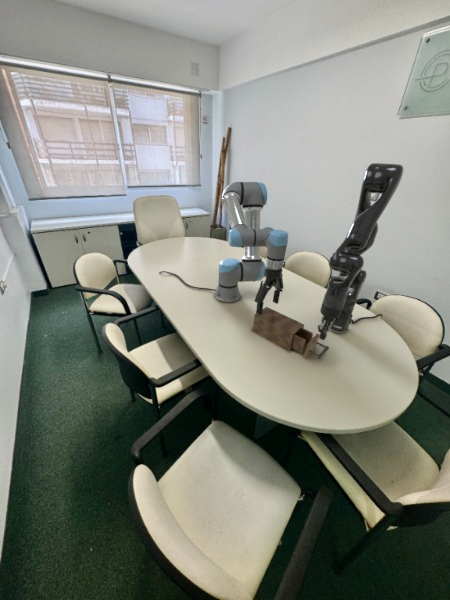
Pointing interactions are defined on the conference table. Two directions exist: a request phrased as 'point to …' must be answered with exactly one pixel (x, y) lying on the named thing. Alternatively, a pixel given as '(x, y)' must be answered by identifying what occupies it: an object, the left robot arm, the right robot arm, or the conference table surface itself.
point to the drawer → (307, 343)
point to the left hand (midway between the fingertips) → (267, 307)
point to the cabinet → (276, 327)
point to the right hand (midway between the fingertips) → (322, 338)
